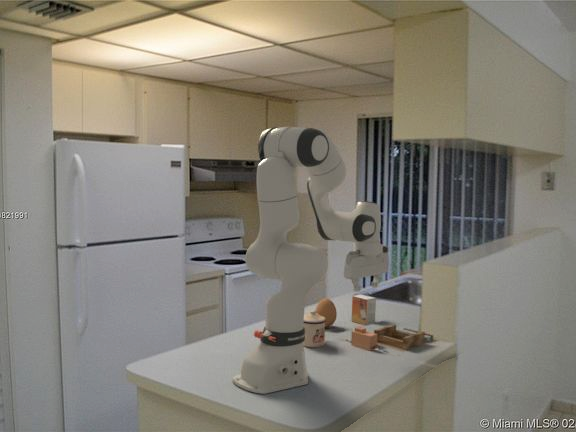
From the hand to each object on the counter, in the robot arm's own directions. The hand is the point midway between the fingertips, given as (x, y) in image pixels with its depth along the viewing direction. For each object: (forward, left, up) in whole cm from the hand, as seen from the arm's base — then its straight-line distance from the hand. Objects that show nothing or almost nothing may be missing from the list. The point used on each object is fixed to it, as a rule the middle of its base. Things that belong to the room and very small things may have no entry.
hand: (366, 289), depth 187 cm
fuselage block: (0, 0, -20) cm, 20 cm away
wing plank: (+19, -7, -19) cm, 28 cm away
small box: (+25, +20, -20) cm, 38 cm away
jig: (+13, -7, -20) cm, 25 cm away
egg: (+8, +25, -20) cm, 33 cm away
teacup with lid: (-10, +14, -20) cm, 27 cm away
